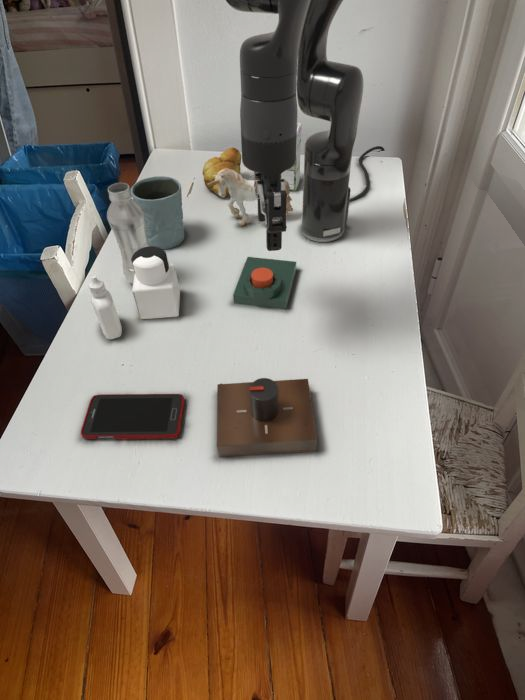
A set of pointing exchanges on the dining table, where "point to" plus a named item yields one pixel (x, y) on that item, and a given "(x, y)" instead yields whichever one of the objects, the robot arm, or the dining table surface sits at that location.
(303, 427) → the dial panel
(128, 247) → the plastic bottle
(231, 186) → the unicorn figurine
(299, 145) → the syrup box
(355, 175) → the dining table surface
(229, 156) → the bread roll
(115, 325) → the eye dropper bottle
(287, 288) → the button housing
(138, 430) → the cell phone
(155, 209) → the teal plant pot
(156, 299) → the medicine bottle
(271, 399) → the dial
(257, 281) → the button
